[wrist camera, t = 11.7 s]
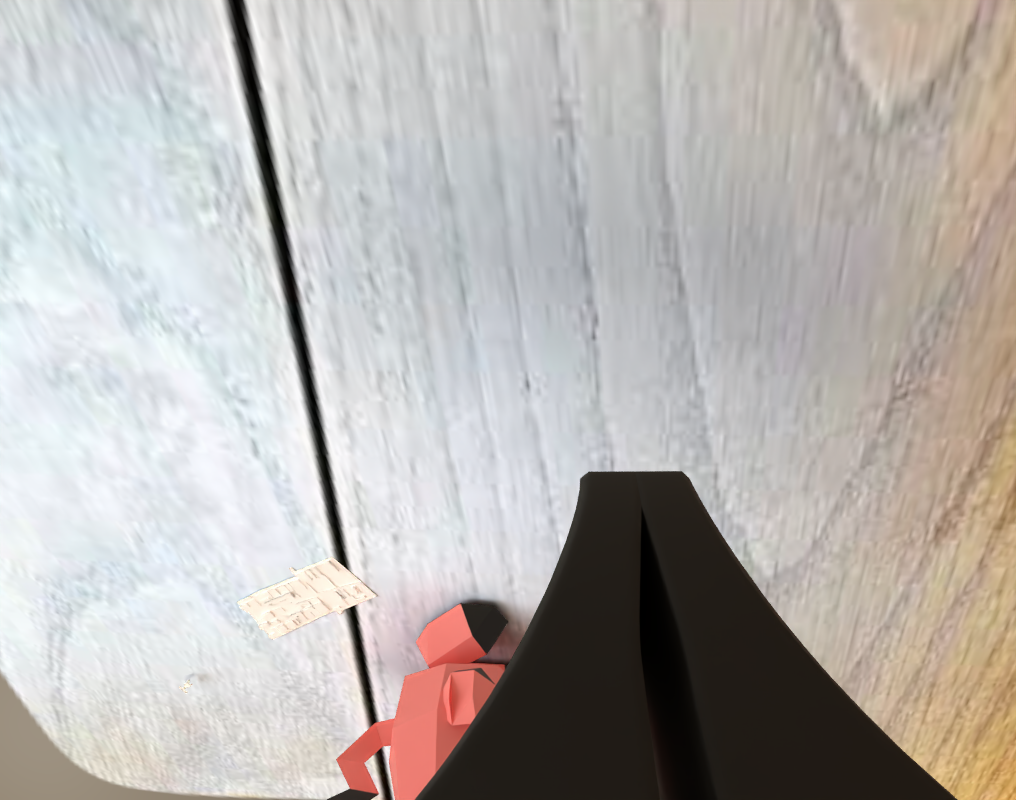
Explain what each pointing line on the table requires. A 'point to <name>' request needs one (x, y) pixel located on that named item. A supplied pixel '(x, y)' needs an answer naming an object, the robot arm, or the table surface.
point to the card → (304, 598)
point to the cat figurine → (431, 704)
